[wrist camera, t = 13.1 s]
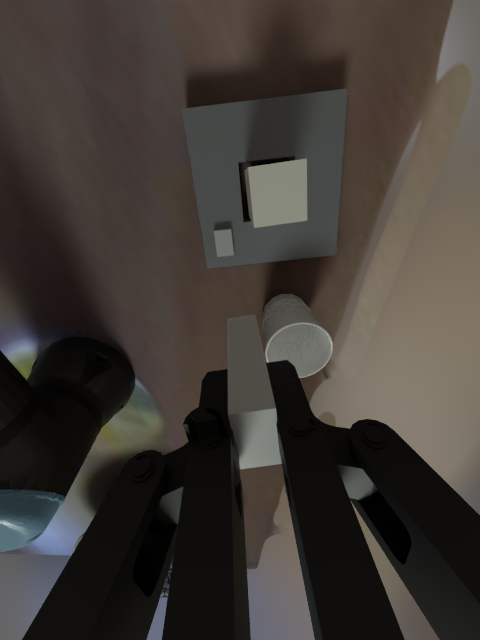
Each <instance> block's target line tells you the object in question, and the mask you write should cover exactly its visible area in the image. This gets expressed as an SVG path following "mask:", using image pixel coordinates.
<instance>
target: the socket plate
mask: <svg viewBox="0 0 480 640" xmlns="http://www.w3.org/2000/svg"><path fill="white" fill-rule="evenodd" d="M347 92H348V88H347V89H339V90H331V91H322V92H314V93H306V94H298V95H290V96H282V97H274V98H265V99H257V100H249V101H241V102H233V103H225V104H217V105H208V106H200V107H192V108H184V109H182V113H183V120H184V126H185V132H186V138H187V144H188V151H189V157H190V163H191V169H192V175H193V182H194V188H195V194H196V200H197V206H198V213H199V219H200V225H201V231H202V237H203V243H204V250H205V256H206V262H207V268H217V267H227V266H236V265H246V264H256V263H266V262H275V261H285V260H295V259H305V258H314V257H324V256H334V255H336V249H337V234H338V220H339V206H340V192H341V177H342V163H343V149H344V135H345V121H346V106H347ZM285 158H290V161H293V160H300V159H306V158H307V221H301V222H294V223H287V224H279V225H272V226H265V227H258V228H254V227H253V224H252V222H251V219H250V218H246V219H243V211H242V199H241V188H240V177H239V166H238V164H242V163H250V162H259V161H268V160H276V159H285Z"/></svg>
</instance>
